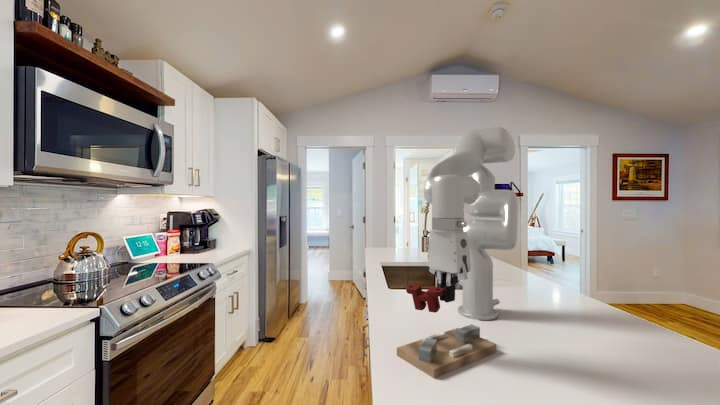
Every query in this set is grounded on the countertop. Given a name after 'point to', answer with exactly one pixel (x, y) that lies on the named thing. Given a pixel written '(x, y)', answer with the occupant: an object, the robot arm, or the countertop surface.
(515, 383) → the countertop surface
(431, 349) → the jig
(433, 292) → the bracket
